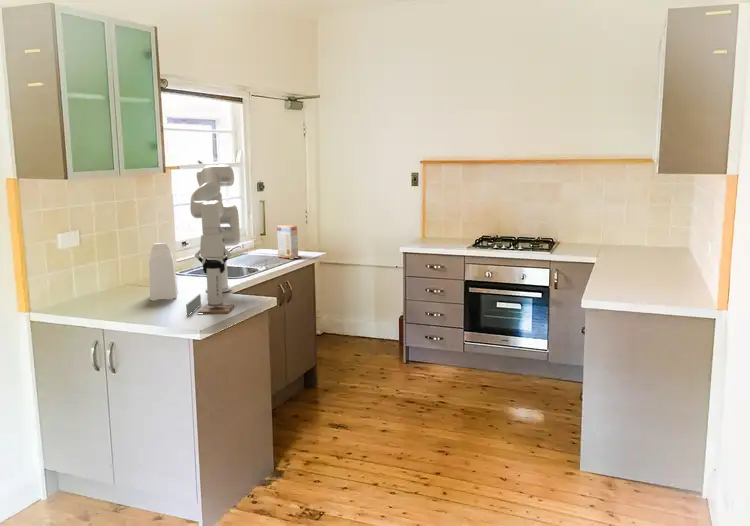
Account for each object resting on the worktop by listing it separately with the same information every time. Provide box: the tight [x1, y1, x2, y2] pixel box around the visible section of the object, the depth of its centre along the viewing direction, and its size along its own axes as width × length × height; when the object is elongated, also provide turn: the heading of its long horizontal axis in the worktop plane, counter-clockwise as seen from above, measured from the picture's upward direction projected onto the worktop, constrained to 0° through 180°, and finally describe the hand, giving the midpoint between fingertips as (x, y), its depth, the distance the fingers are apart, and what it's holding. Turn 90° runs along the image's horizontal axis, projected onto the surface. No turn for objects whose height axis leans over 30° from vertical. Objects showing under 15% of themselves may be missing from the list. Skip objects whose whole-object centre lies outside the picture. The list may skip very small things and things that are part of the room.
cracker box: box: [276, 224, 299, 259], centre depth 427 cm, size 14×6×21 cm, turn 44°
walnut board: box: [197, 303, 235, 315], centre depth 293 cm, size 13×13×1 cm
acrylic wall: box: [185, 293, 202, 316], centre depth 293 cm, size 20×1×5 cm, turn 0°
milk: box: [148, 242, 179, 301], centre depth 319 cm, size 12×12×26 cm
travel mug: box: [205, 260, 224, 307], centre depth 291 cm, size 6×7×20 cm
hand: (214, 272), depth 290 cm, fingers closed on travel mug, 6 cm apart
